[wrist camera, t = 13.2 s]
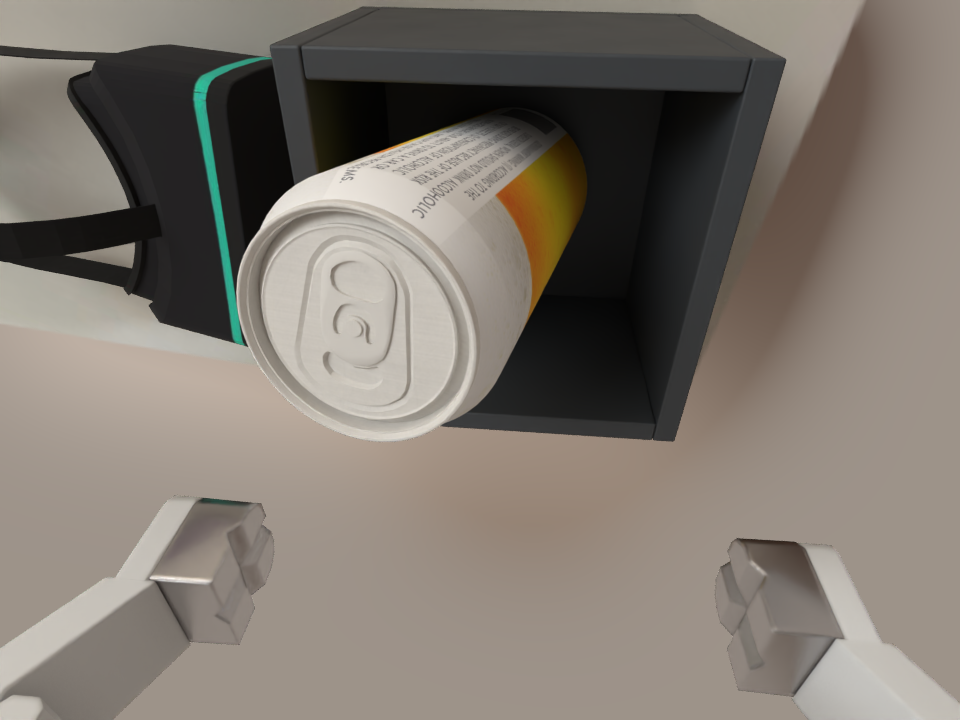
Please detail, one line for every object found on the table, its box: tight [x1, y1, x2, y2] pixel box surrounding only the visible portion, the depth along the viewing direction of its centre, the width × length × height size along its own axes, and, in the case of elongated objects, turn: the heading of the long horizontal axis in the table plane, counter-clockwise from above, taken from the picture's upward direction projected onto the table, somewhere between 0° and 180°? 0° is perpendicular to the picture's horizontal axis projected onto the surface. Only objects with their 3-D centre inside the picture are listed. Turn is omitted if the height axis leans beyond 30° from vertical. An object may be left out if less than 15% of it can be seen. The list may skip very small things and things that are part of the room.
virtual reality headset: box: [0, 45, 295, 347], centre depth 23 cm, size 11×17×10 cm, turn 83°
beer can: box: [236, 107, 587, 442], centre depth 18 cm, size 6×6×15 cm
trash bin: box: [270, 7, 786, 442], centre depth 22 cm, size 13×13×10 cm
